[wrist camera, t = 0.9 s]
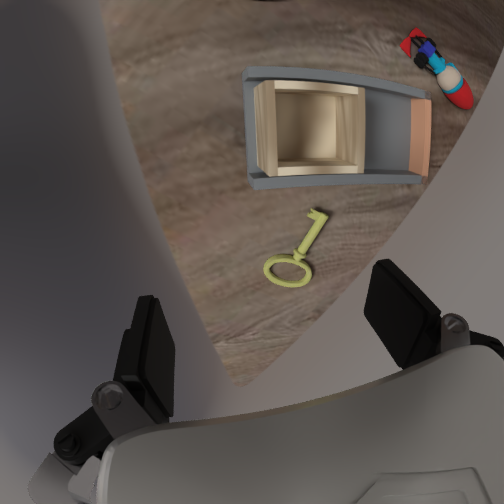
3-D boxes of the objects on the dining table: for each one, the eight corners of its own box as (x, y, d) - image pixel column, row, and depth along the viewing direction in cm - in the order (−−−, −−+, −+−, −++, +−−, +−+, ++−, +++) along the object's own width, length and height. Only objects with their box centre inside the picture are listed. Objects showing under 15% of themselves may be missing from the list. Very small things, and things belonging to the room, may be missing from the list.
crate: (257, 166, 30) (269, 176, 24) (253, 87, 25) (265, 80, 20) (338, 163, 31) (363, 173, 26) (338, 91, 27) (364, 88, 21)
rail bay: (247, 181, 32) (253, 190, 28) (241, 73, 25) (247, 66, 22) (408, 176, 34) (426, 184, 31) (411, 91, 28) (430, 92, 25)
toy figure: (391, 51, 27) (453, 121, 30) (409, 41, 22) (474, 120, 26) (408, 28, 25) (466, 95, 29) (425, 18, 21) (485, 92, 24)
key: (325, 206, 35) (331, 212, 33) (305, 284, 41) (310, 292, 39) (273, 201, 34) (277, 206, 32) (259, 284, 39) (262, 293, 37)
